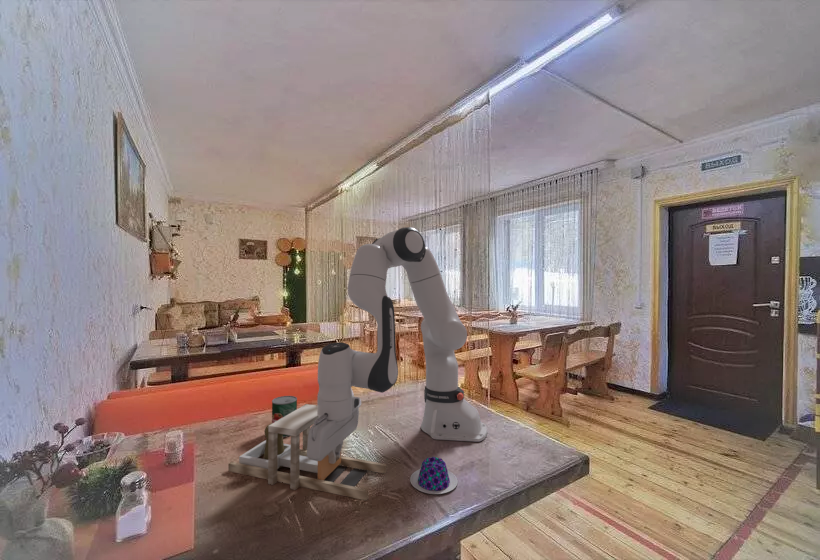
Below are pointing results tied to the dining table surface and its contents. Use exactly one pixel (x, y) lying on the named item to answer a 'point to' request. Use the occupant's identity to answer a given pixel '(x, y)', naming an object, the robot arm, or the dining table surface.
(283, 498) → the dining table surface
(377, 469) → the tunnel track
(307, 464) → the sled fence
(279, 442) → the olive rounded cylinder
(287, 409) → the canned tomato
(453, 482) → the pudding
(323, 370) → the robot arm
